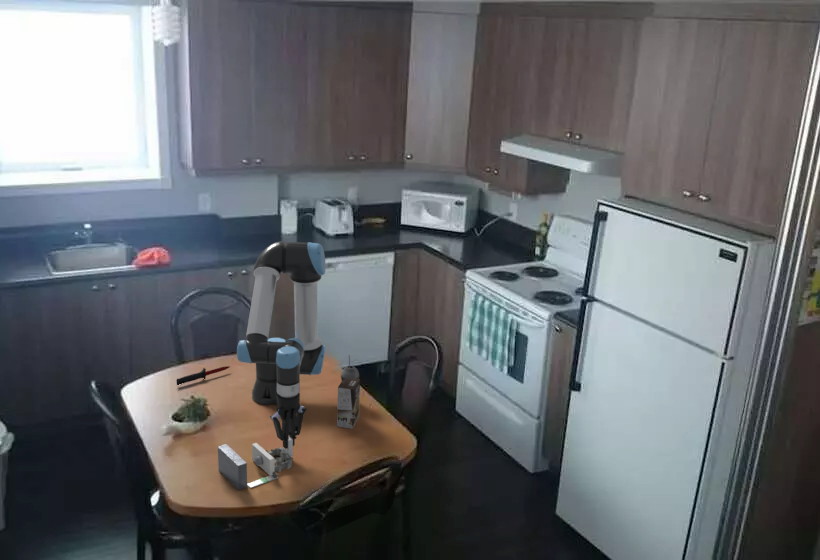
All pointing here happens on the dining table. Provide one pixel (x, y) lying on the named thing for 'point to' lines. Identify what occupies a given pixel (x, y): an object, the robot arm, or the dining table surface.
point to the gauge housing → (237, 469)
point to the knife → (199, 375)
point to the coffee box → (348, 402)
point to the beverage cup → (350, 372)
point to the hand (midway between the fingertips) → (288, 454)
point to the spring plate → (263, 459)
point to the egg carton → (281, 459)
